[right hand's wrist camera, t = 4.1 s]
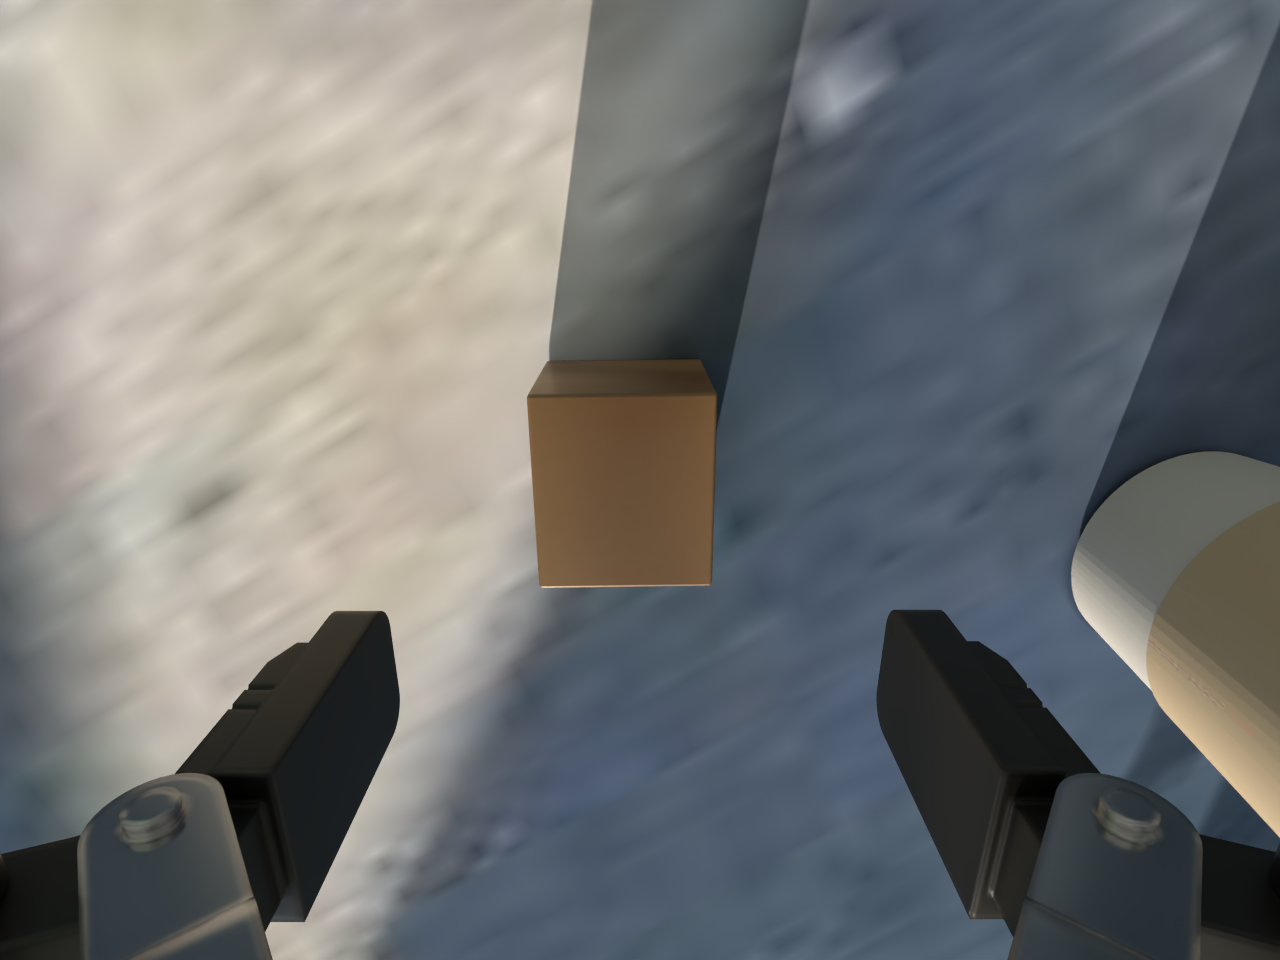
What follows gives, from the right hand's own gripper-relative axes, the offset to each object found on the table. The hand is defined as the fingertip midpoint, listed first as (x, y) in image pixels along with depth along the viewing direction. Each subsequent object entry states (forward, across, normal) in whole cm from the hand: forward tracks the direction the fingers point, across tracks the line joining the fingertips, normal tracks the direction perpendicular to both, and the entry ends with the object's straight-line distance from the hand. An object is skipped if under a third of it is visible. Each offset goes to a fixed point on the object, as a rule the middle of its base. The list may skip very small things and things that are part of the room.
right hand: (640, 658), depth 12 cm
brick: (+11, 0, 0) cm, 11 cm away
